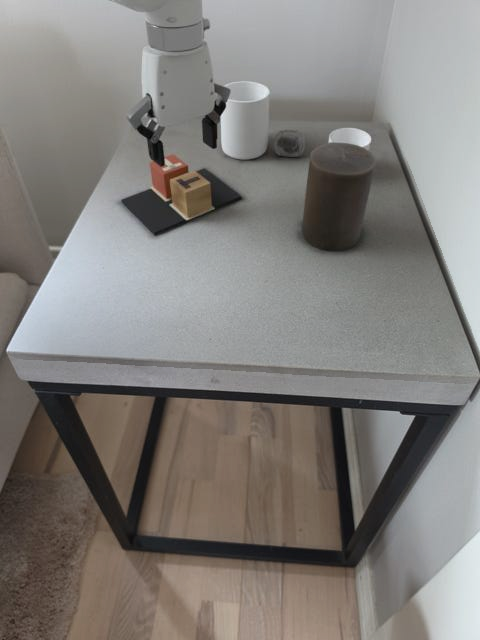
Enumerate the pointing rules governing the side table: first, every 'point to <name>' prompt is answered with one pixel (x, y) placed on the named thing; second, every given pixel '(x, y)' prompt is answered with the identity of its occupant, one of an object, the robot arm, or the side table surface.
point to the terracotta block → (167, 174)
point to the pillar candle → (337, 195)
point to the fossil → (289, 143)
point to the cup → (351, 137)
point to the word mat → (165, 215)
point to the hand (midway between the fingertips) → (184, 153)
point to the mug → (245, 120)
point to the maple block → (191, 193)
